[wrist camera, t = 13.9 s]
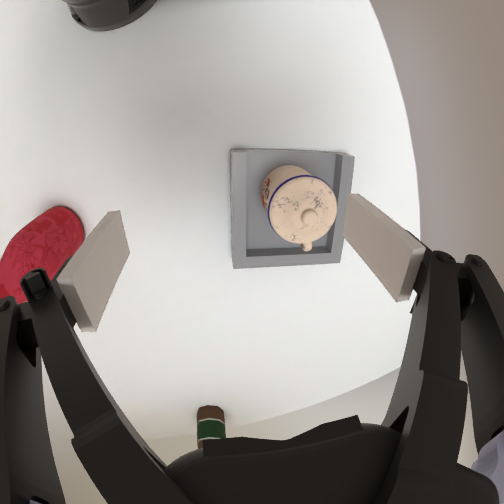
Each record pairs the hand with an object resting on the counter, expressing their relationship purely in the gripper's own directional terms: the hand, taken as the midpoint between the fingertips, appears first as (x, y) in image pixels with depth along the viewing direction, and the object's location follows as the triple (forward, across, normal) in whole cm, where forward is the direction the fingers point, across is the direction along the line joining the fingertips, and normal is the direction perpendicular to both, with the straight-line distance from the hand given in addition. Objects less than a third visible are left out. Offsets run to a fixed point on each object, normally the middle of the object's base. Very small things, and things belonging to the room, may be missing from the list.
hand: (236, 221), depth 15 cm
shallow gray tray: (+26, +10, -10) cm, 30 cm away
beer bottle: (+25, -10, -68) cm, 73 cm away
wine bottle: (+27, -29, -10) cm, 41 cm away
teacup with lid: (+26, +10, -8) cm, 29 cm away
